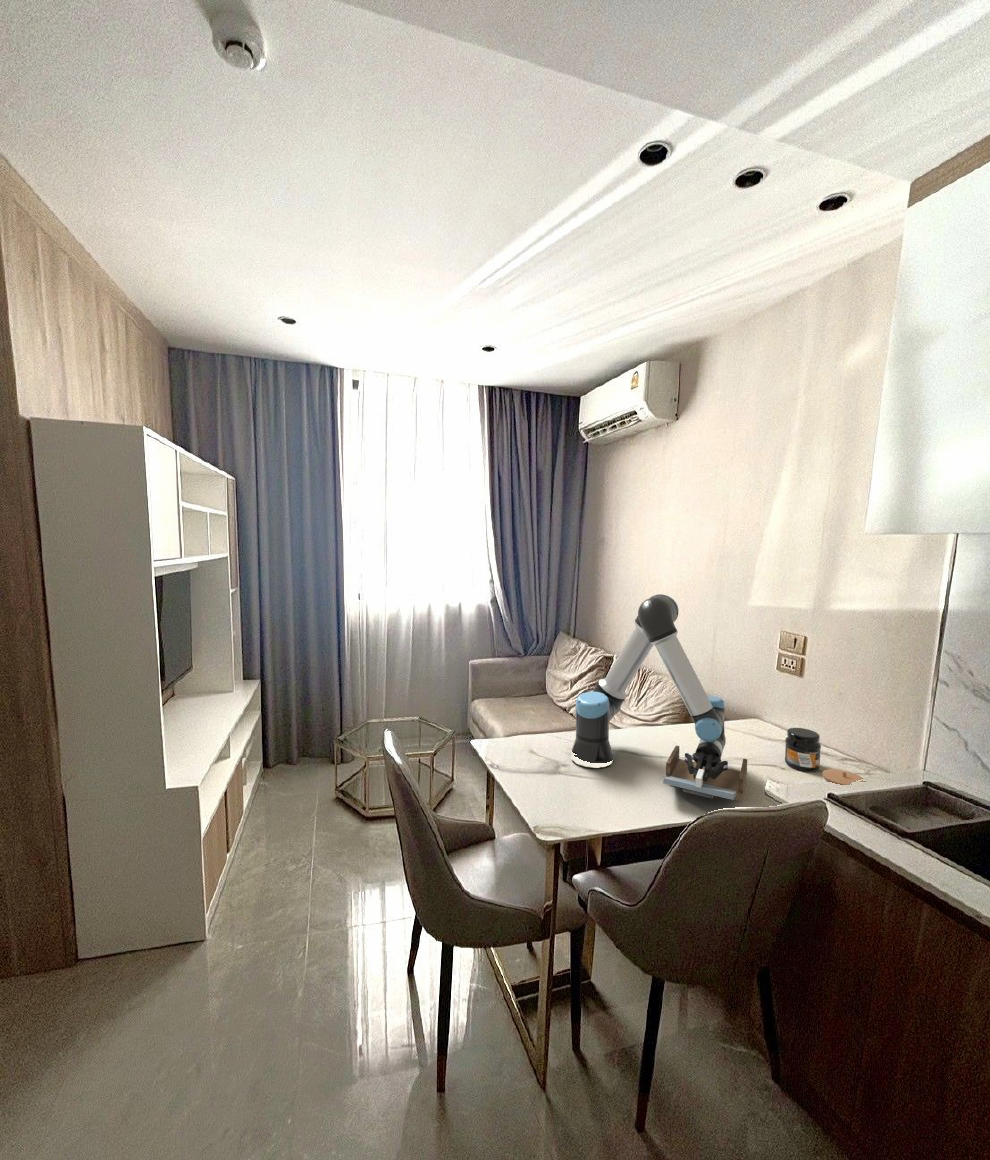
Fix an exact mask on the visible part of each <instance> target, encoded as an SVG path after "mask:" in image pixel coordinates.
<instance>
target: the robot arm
mask: <svg viewBox="0 0 990 1160" xmlns="http://www.w3.org/2000/svg"><path fill="white" fill-rule="evenodd" d="M678 617H679V605H678V603H677V602H676V601H675V599H674V598H672V597H671V596H669V595H666V594H663V593H662V594H661V593H660V594H654V595H652V596H650V597H649V598H647V599H645V600H643V602H641V604H640V605H639V607H638V611H637V616H636V618H635V619H634V624H635V628H634V629H633V631H632V633H631V635H630V636H629V637H628V640H627V641H626V643H625V645H623V648H622V650H621V651H620V652H619V655H618V656H617V658H616V660H615V662H614V663H613V665H612V666H611V668H610V669H609V671H608V673H607V674H606V676H605V678H600V679H599V680H598V681H597V683H596V684H595V687H594V688H593V690H592V691H586V692H582V693H580V694H579V695H578V696H577V697H576V701H575V739H574V742H573V745H572V748H571V751H572V752H573V753H575V754H577V755H574V756H575V757H578V758H579V759H581V760H583V761H587V762H590V763H607V762H610V761H612V760H613V758H614V756H615V755H614V751H613V750H612V746H611V744H610V739H609V738H610V733H609V732H610V730H609V729H610V728H609V727H610V722H611V721H612V719H613V718H614V717H615V716H616V715H618V713H619V712H620V710H621V708H622V705H623V703H624V702H625V700H626V698H627V692H626V691H627V689H628V687H629V685H630V684H631V682H632V681H633V679H634V678H635V676H636V674H637V673H638V671H639V670H640V668H641V666H642V664H643V663H644V661H646V658H647V656H648V655H649V654H650V652H651V650H652V649H653V648H654V647H655V648H656V650H657V652H658V654H659V656H660V658H661V660H662V662H663V665H665V668H666V670H667V672H668V673H669V676H670V678H671V679H672V682H673V684H674V686H675V688H676V689H677V692H678V693H679V695H680V698H681V699H682V701H683V703H684V705H685V708H686V709H687V711H688V713H689V714H690V717H691V719H692V721H693V723H694V728H695V729H694V730H695V734H696V735H697V737H698V738H699V743H698V745H697V747H696V750H695V751H694V752H693V754H689V752H685V753H684V760H685V762H686V763H687V765H688V770H689V774H693V778H694V779H696V785H695V787H699V788H701V786H702V783H703V781H705V782H707V780H708V778H709V777H711V778H712V779H716V778H717V777H718V776H719V775H720V774H721V773H722V772H723V771H725V770H728V769H729V766H728V765H729V762H728V760H722V755H723V753H724V748H725V746H726V741H727V740H726V739H727V738H726V735H725V733H726V732H725V710H726V707H725V701H724V699H723V698H721V697H719V696H714V695H707V693H706V691H705V688H704V686H703V685H702V683H701V681H700V678H699V677H698V675H697V673H696V671H695V670H694V667H693V666H692V663H691V662H690V660H689V658H688V656H687V654H686V651H685V650H684V648H683V646H682V644H681V642H680V640H679V637H677V636H678V633H679V632H678V630H677V627H676V625H675V622H676V620H677V619H678ZM614 759H615V758H614ZM692 761H694V762H696V763H697V764H696V767H695V768H694V767H693V762H692ZM703 767H704V770H703ZM712 768H713V769H712Z"/></svg>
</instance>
